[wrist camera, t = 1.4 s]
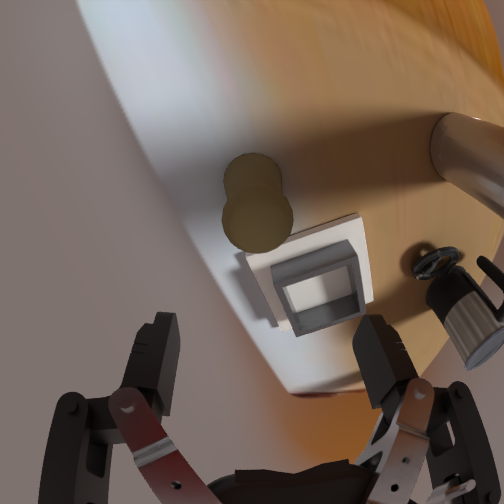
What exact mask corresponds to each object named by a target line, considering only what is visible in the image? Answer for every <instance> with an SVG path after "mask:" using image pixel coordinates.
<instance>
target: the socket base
mask: <svg viewBox="0 0 504 504" xmlns="http://www.w3.org/2000/svg"><path fill="white" fill-rule="evenodd" d="M346 239H348V240H349V242H350V244H351V245H352V247H353V248H354V250H355V251H356V253H357V255H358V259H359V264H360V271H361V277H362V283H363V290H364V298H365V304H367V303H370V302H372V301H374V300H373V291H372V282H371V274H370V266H369V259H368V252H367V246H366V239H365V233H364V228H363V222H362V217H361V216H360V215H359V213H355V214H352V215H349V216H346V217H343V218H340V219H338V220H335V221H332V222H329V223H326V224H323V225H320V226H317V227H315V228H312V229H309V230H306V231H303V232H300V233H297V234H294V235H292V236H289V237H288V238H287V239H286V241H285V242H284V243H283V244H282V245H280V246H279V247H278V248H277V249H274V250H272V251H270V252H268V253H261V254H255V253H248V252H245V257H246V259H247V261H248V264H249V266H250V268H251V270H252V272H253V274H254V276H255V278H256V280H257V282H258V284H259V286H260V288H261V290H262V292H263V294H264V296H265V298H266V300H267V303H268V305H269V307H270V309H271V311H272V313H273V315H274V317H275V319H276V321H277V323H278V325H279V327H280V329H281V331H282V332H284V331H287V330H291V329H292V326H291V324H290V322H289V320H288V317H287V315H286V313H285V310H284V308H283V306H282V304H281V301H280V299H279V297H278V295H277V292H276V290H275V288H274V286H273V281H272V275H271V268H270V266H271V265H274V264H277V263H280V262H283V261H286V260H289V259H292V258H294V257H297V256H300V255H303V254H306V253H309V252H312V251H315V250H318V249H320V248H323V247H326V246H329V245H332V244H335V243H338V242H340V241H343V240H346ZM286 288H287V290H288V293H289V295H290V298H291V300H292V303H293V305H294V308H295V310H296V313H297V312H300V311H304V310H307V309H310V308H313V307H316V306H319V305H322V304H325V303H327V302H330V301H333V300H336V299H339V298H342V297H345V296H347V295H350V294H352V291H351V285H350V280H349V275H348V270H347V266H344V267H341V268H339V269H336V270H333V271H330V272H327V273H324V274H322V275H319V276H316V277H313V278H310V279H307V280H304V281H301V282H298V283H295V284H292V285H289V286H286Z"/></svg>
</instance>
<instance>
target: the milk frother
mask: <svg viewBox="0 0 504 504" xmlns="http://www.w3.org/2000/svg"><path fill="white" fill-rule="evenodd" d="M442 256H450V258H449V260H448V261H447V262H446V263H445V264H444V265H443V266H442V267H440V268H438V269H436V270H434V271H433V269H434V268H435V266H436V265H437V263H438V262H439V261H440V260H441V259H442V258H441V257H442ZM458 258H459V252H458V250H457V248H455V247H443V248H439V249H436V250H433V251H431V252H429V253H427V254H425V255H424V256H422V257H421V258H419V259H418V260H417V261H416V263H415V264H414V265H413V268H412V273H413V275H414V277H415V278H416V279H419V280H428V279H431V278H434V277H436V276H438V275H439V276H438V277H437V278H436V279H435V280H434V282H433V283H432V285H431V286H430V288H429V290H428V293H427V296H426V302H427V305H428V306H429V307H430V308H432V310H433V311H434V312H435V314H436V315H437V317H438V318H439V320H440V321H441V323H442V325H443V326H444V328H445V329H446V331H447V333H448V335H449V336H450V338H451V340H452V341H453V343H454V345H455V347H456V348H457V350H458V352H459V354H460V356H461V358H462V360H463V361H464V363H465V369H466V370H472V369H474V368H476V367H478V366H480V365H481V364H483V363H484V362H486V361H487V360H488V359H489V358H490V357H492V355H494V354H495V353H496V352H497V350H499V349H500V347H501V346H502V345H503V344H504V301H503V303H502V305H501V306H500V308H499V309H498V310H497V309H496V307H495V306H494V304H493V303H492V302H491V300H490V299H489V298H488V296H487V295H486V294H485V293H484V292H483V290H482V289H481V288H480V286H479V285H478V284H477V283H476V282H475V280H474V279H473V278H472V277H471V276H470V274H469V273H467V272H466V271H465V269H464V268H463V267H461V266H454V265H455V264H456V263H457V261H458ZM477 265H478V266H479V267H480V268H481V269H482V270H483V271H484V272H485V273H486V274H487V275H488V276H489V277H490V278H491V279H492V280H493V281H494V282H495V283H496V284H497V285H498V286H499V287H500V288H501V290H502V291H503V293H504V273H503V272H502V271H501V270H500V269H499V268H498V267H497V266H495V265H494V264H493V263H492V262H491V261H490V260H489V259H487V258H486V257H484V256H479V257H478V258H477Z"/></svg>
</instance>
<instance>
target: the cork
mask: <svg viewBox="0 0 504 504" xmlns="http://www.w3.org/2000/svg"><path fill="white" fill-rule="evenodd" d="M224 186H225V191H226V195H227V199H228V200H227V202H226V204H225V206H224V208H223V215H222V224H223V229H224V232H225V234H226V236H227V237H228V239H229V241H230V242H231V243H232V244H233V245H234V246H236V247H237V248H238V249H240V250H243V251H245V252H248V253H255V254H261V253H268V252H270V251H272V250H274V249H277V248H278V247H279V246H280V245H282V244H283V243H284V242H285V241H286V239H287V238H288V236H289V235H290V233H291V230H292V226H293V210H292V208H291V206H290V204H289V202H288V200H287V198H286V197H285V196H284V195H283V194H282V178H281V172H280V170H279V168H278V166H277V164H276V163H275V162H274V161H273V160H272V159H271V158H269V157H267V156H265V155H263V154H258V153H249V154H243V155H241V156H239V157H237V158H235V159H234V160H233V161H232V162H231V163H230V164H229V165H228V167H227V169H226V171H225V174H224Z"/></svg>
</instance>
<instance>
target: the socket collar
mask: <svg viewBox="0 0 504 504" xmlns="http://www.w3.org/2000/svg"><path fill="white" fill-rule="evenodd" d="M344 266H347V270H348V275H349V280H350V285H351V291H352V294H350V295H347V296H345V297H342V298H339V299H336V300H333V301H330V302H327V303H325V304H322V305H319V306H316V307H313V308H310V309H307V310H304V311H300V312H297V313H296V310H295V308H294V305H293V303H292V300H291V298H290V295H289V293H288V290H287V288H286V286H289V285H292V284H295V283H298V282H301V281H304V280H307V279H310V278H313V277H316V276H319V275H322V274H324V273H327V272H330V271H333V270H336V269H339V268H341V267H344ZM270 268H271V275H272V281H273V286H274V288H275V290H276V292H277V295H278V297H279V299H280V301H281V304H282V306H283V308H284V310H285V313H286V315H287V317H288V320H289V322H290V324H291V326H292V329H293V331H294V333H295V335H296V337H299V336H302V335H305V334H308V333H312V332H315V331H318V330H321V329H324V328H327V327H330V326H333V325H336V324H339V323H341V322H344V321H347V320H350V319H353V318H355V317H358V316H361V315H364V314H366V306H365V298H364V290H363V283H362V277H361V271H360V264H359V259H358V255H357V253H356V251H355V250H354V248H353V247H352V245H351V244H350V242H349V240H348V239H346V240H343V241H340V242H338V243H335V244H332V245H329V246H326V247H323V248H320V249H318V250H315V251H312V252H309V253H306V254H303V255H300V256H297V257H294V258H292V259H289V260H286V261H283V262H280V263H277V264H274V265H271V266H270Z"/></svg>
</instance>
